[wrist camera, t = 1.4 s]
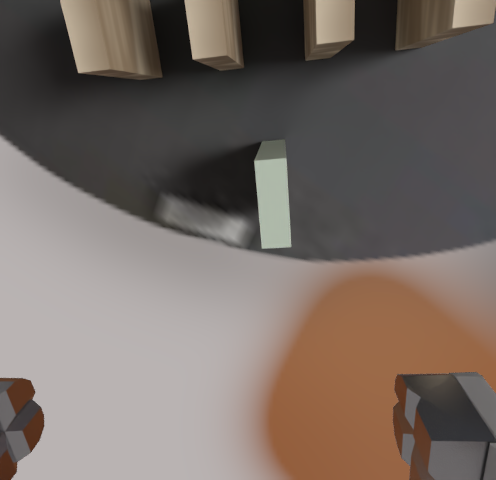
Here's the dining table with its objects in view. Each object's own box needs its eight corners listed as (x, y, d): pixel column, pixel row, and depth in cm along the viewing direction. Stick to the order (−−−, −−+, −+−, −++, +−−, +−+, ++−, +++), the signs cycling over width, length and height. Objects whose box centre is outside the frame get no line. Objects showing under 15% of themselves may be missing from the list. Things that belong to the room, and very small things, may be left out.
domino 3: (305, 60, 28) (316, 44, 19) (302, -29, 26) (313, -96, 17) (330, 58, 28) (354, 39, 19) (329, -33, 26) (356, -103, 17)
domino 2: (220, 70, 29) (192, 59, 20) (210, -15, 27) (174, -73, 18) (244, 67, 29) (227, 55, 20) (236, -19, 27) (212, -79, 18)
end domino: (267, 206, 33) (262, 248, 24) (262, 141, 31) (254, 160, 22) (288, 204, 33) (291, 247, 24) (284, 139, 31) (286, 158, 22)
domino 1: (140, 79, 30) (78, 73, 21) (124, -3, 28) (47, -52, 19) (162, 77, 30) (110, 69, 21) (148, -7, 28) (82, -57, 18)
